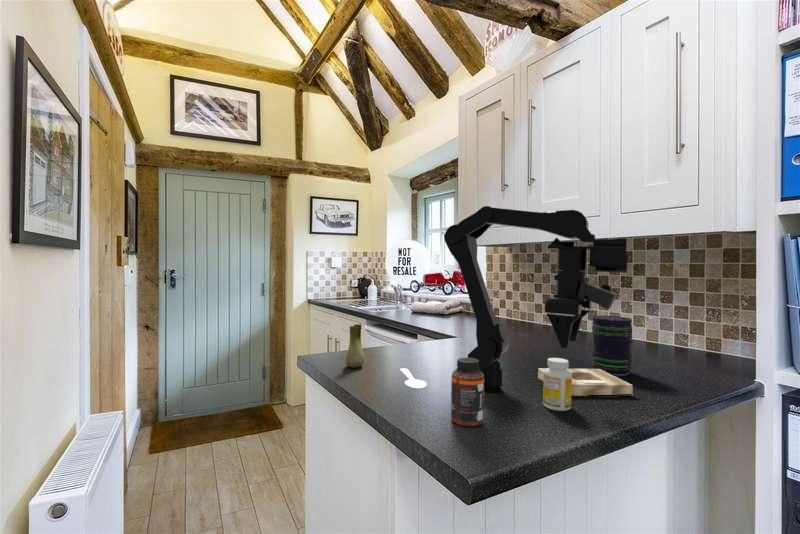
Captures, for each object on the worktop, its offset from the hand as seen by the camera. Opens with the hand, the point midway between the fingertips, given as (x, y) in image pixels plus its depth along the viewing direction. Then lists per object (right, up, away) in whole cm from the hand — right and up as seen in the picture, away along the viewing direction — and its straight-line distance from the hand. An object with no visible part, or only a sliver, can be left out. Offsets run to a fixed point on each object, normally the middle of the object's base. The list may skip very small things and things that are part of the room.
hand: (568, 344), depth 83 cm
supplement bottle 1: (-23, -12, -11) cm, 29 cm away
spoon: (-33, -12, +16) cm, 39 cm away
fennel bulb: (-48, -12, +26) cm, 56 cm away
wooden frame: (+8, -12, +11) cm, 19 cm away
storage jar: (+23, -13, +26) cm, 37 cm away
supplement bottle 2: (-4, -12, -3) cm, 13 cm away
